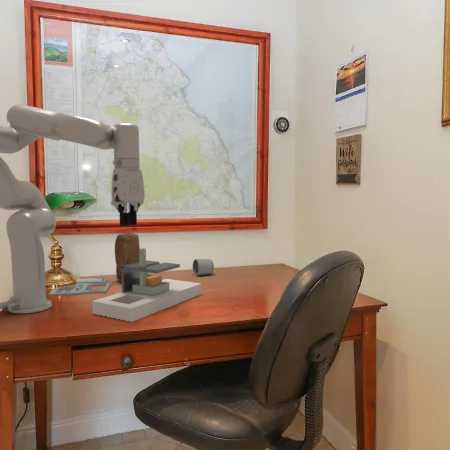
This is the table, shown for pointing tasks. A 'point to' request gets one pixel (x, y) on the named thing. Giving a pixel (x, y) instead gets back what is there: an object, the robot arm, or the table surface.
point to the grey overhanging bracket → (132, 271)
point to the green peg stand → (142, 285)
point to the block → (126, 251)
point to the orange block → (153, 280)
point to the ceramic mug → (202, 267)
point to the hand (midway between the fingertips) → (128, 224)
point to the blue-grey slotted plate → (82, 287)
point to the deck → (145, 301)
